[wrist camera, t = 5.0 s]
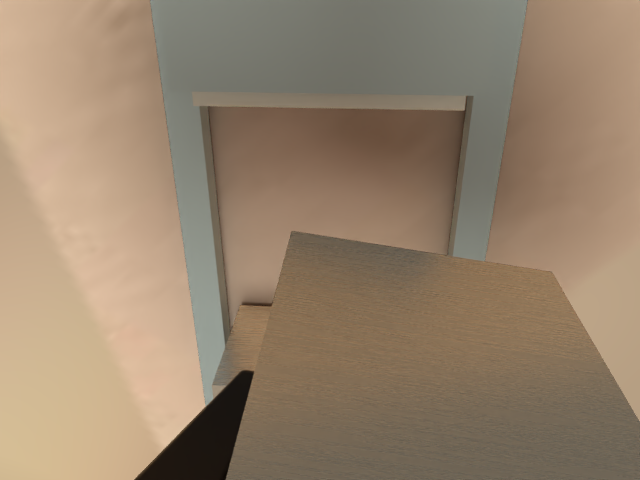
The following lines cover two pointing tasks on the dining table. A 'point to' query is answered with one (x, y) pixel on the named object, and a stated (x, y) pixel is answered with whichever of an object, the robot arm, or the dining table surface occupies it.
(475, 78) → the vise
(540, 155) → the dining table surface
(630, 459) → the block
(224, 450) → the robot arm
